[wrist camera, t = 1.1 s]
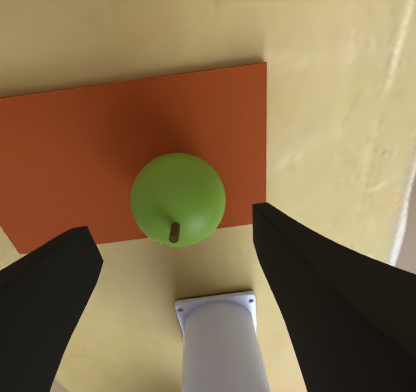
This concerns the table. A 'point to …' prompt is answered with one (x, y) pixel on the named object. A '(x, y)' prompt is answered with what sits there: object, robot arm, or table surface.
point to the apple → (177, 200)
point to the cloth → (126, 149)
